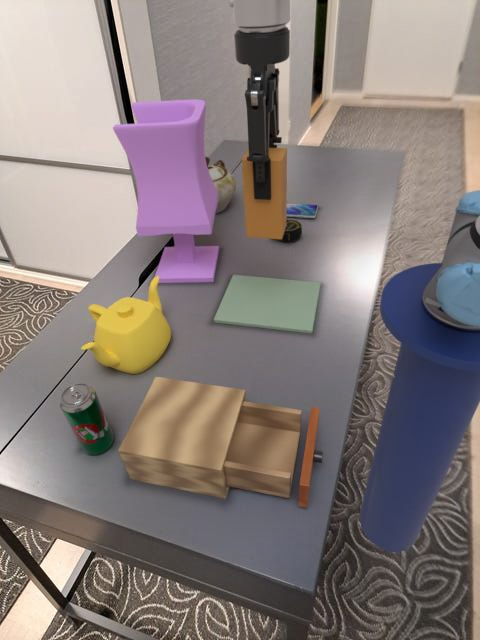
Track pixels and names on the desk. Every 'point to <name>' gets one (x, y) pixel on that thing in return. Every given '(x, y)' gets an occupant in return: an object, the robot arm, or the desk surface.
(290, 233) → the tape measure
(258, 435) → the drawer
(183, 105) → the vase
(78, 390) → the soda can
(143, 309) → the teapot
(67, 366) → the desk surface
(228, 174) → the sugar bowl
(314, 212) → the smartphone
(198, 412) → the cabinet
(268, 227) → the orange rectangular block
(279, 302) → the mat
